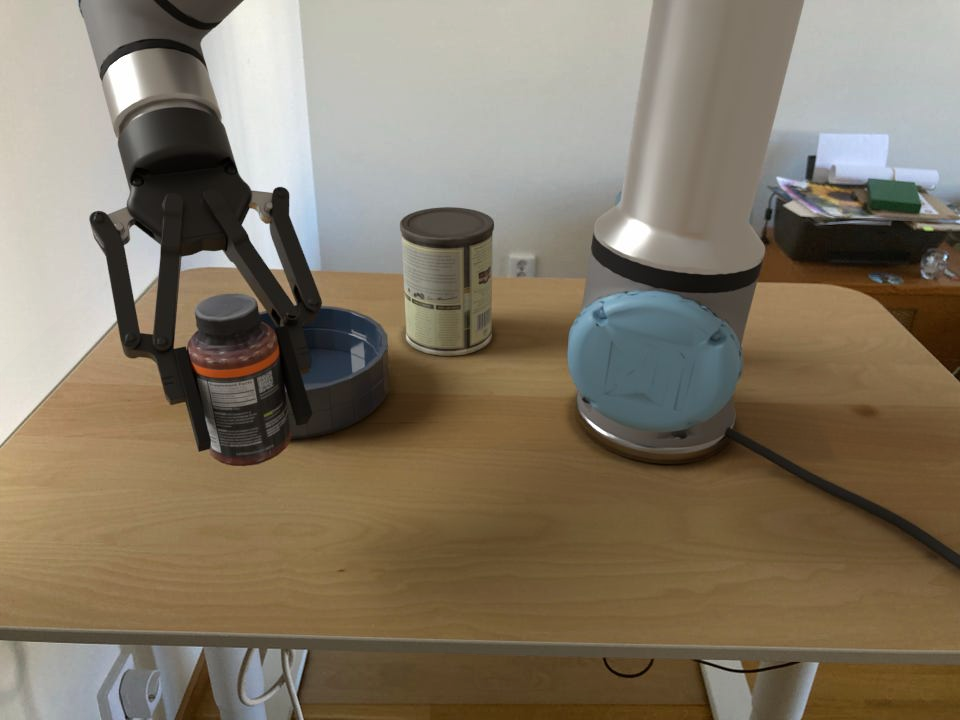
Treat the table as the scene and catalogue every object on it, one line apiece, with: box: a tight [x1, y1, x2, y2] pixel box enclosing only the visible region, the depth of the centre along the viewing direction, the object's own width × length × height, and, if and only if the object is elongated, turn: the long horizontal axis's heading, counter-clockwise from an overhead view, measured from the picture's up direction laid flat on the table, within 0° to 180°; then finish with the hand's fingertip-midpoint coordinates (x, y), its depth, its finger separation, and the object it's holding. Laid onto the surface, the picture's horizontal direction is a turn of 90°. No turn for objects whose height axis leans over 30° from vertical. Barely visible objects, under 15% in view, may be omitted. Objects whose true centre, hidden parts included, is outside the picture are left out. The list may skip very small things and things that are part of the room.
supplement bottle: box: [186, 292, 292, 467], centre depth 53 cm, size 6×6×11 cm
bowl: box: [259, 305, 391, 440], centre depth 79 cm, size 18×18×6 cm
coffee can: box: [399, 206, 495, 357], centre depth 88 cm, size 10×10×14 cm
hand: (255, 432), depth 52 cm, fingers closed on supplement bottle, 6 cm apart
